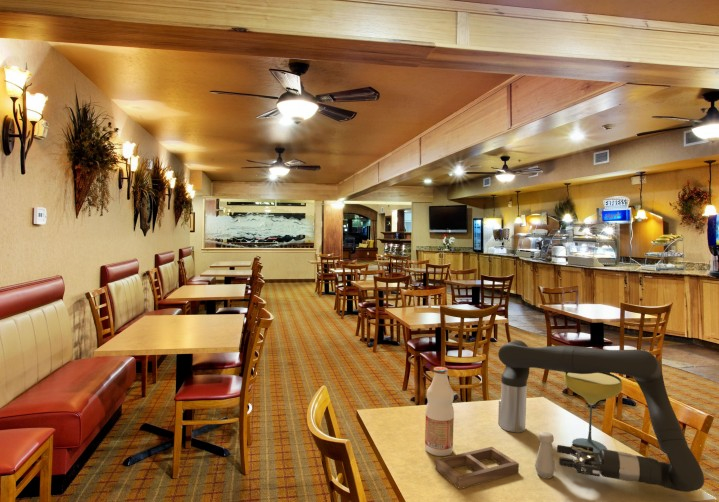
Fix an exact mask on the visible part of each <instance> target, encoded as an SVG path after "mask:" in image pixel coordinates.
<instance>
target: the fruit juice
mask: <svg viewBox="0 0 719 502" xmlns="http://www.w3.org/2000/svg"><path fill="white" fill-rule="evenodd" d="M448 375H449V368H447V367H443V366H435V367H433V378H432V380H431V384H430V385H429V386H428V388H427V390H426V398H427V403H426V407H425V427H424V428H425V430H424V449H425V451H426V452H427V453H429V454H430V455H433V456H436V457H448V456H449V455H452V453H453V449H454V421H455V420H454V419H455V418H454V417H455V414H454V413H455V410H454V406H453V401H454V397H455V393H454V390H453V389H452V386H451V385H450V384H451V383H450V380H449V377H448Z"/></svg>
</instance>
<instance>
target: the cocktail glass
mask: <svg viewBox="0 0 719 502" xmlns="http://www.w3.org/2000/svg"><path fill="white" fill-rule="evenodd" d="M563 373H564V374H563V383H564V384H565V386H566V387H567V388H569V390H570V391H572V392H573V393H575V394H577V395H578V396H580V397H582V398H583V399H584V400H585V401H586V403H587V404H588V405H589V420H588V423H589V424H588V435H587V438H586V437H585V438H583V437H582V438H580V437H579V438H574V439H573V440H572V442H571V443H572V444H578V445H583V446H588V447H593V452H594V453H597V454H598V453H599V452H600V450H601V449H606V450H608V448H607V446H606V445H605V444H603V443H601V442H599V441H596V440H594V439H592V420H593V419H592V415H593V405H594V406H595V405H596V403H597V404H598V402H599V401H603V400H607V399H612V398H614V397H617V396H618V395H619V394H621V392H622V390H623V381H622V379H621V378H620V377H619V376H617V375H614V373H610V372H601V373H592V374H576V373H567V372H563ZM577 448H578V447H577Z"/></svg>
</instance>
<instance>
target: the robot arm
mask: <svg viewBox="0 0 719 502" xmlns="http://www.w3.org/2000/svg"><path fill="white" fill-rule="evenodd" d="M497 353H498V354H497V356H498V359H499V361H500V362H501V363H502V364H503V365H504V366H505V368H504V371H503V372H502V374H501V380H500V381H501V382H500V383H501V384H500V399H499V400H498V413H497V414H498V415H497V416H498V419H497V424H498V425H499V426H500V428H501V429H503V430H505V431H507V432H510V433H523V432H525V431H526V419H527V418H526V416H527V395H528V394H527V392H528V391H527V389H528V379H529V376H530V368H531V369H532V368H533V369H541V370H547V371H553V372H554V371H555V372H560V373H561V372H563V373H565V372H567V373H576V374H592V373H601V372H606V373H610V374H618V375H624V376H629V377H632V378H633V379H634V380H635V381H636V383H637V385H638V387H639V388H640V391H641V392H642V394H643V397H644V399H645V402H646V406H647V410H648V414H649V418H650V422H651V426H652V429H653V433H654V435H655V437H656V440H657V444H658V445H659V449H660V450H661V451H662V453H664V454H665V455H666V456H667V459H668V461H669V463H668V462H663V461H662V462H661V461H659V460H657V459H656V458H652V457H647V456H642V455H636V454H632V453H629V452H623V451H618V450H617V451H616V450H612V449H607V450H606V449H601V450H600V452H599V453H598V454H597V453H594V452H593V447H588V446H583V445H578V444H573V443H572V444H571V445H570V446H569V445H568V446H567V445H563V444H562V445H561V444H557V446H556V452H557V453H559V454H563V455H564V454H565V455H571V456H572V457H575V458H576V459H571V458H566V457H562V456H560V457H559V458H558V465H559V466H560V467H564V468H565V467H566V468H572V469H573V470H575V471H576V473H577V474H581V475H585V476H586V475H587V476H592V477H600V476H602V477H604V478H610V479H614V480H615V479H616V480H622V481H625V482H636V483H641V484H648V485H655V486H659V487H663V488H666V489H670V490H673V491H677V492H678V491H679V492H684V493H691V492H694V491H698V490H700V489H701V488H703V486H704V484H705V475H704V472H703V470H702V469H703V468H702V467H701V465H700V463H699V462H698V460H697V459H696V456H695V455H694V453H693V452H692V450H691V449H690V447H689V444H688V441H687V439H686V437H685V434H684V431H683V429H682V426H681V425H680V421H679V420H678V418H677V416H676V413H675V411H674V408H673V406H672V404H671V402H670V398H669V395H668V393H667V389H666V384H665V380H664V375H663V370H662V369H663V368H662V364H661V363H660V361H659V360H658V359H657V357H656V356H655V355H654V354H653V353H651V352H650V351H647V350H644V349H601V348H596V347H587V346H585V347H584V346H577V345H576V346H575V345H552V346H551V345H550V346H549V345H548V346H542V347H535V346H534V347H532V346H528V345H527V344H526V343H525V342H524V341H522V340H520V339H519V340H511V341H510V342H506V343H504V344H503V345H502V346H501V347H500V348H499V349H498V352H497ZM577 447H578V448H577Z"/></svg>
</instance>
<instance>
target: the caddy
mask: <svg viewBox="0 0 719 502" xmlns="http://www.w3.org/2000/svg"><path fill="white" fill-rule="evenodd" d="M490 459H492V460H493V461H494V462H496V463H498V464H499V465H495V466H492V467H488V466H487V465H486V464H483V462H482V461H486V460H490ZM519 465H520V463H519V462H517V461H516V460H514V459H512V458H510V457H509V456H507V455H506V454H504V453H503V452H501V451H499V450H498V449H496V448H495V447H494V446H489V447H484V448H480V449H475V450H471V451H467V452H462V453H458V454H454V455H451V456H449V455H448V456H444V457H441V458H437V459H435V470H436V471H437V472H438V471H439V474H441V475H442V476H443V477H444V476H445V477H444V478H445V479H447V480H448V481H449V480H450V481H451V482H450V481H449V482H450V483H451V484H453V483H454V484H455V485H456V486H457V487H456V486H455V485H454V484H453V485H454V486H455V487H456V488H458V487H459V488H462V489H464V488H463V487H466V488H468V487H467V486H469V487H472V486H471V485H473V486H477V485H480V484H485V483H487V482H491V481H495V480H499V479H502V478H505V477H511V476H513V475H517V474H519V470H520V469H519V467H520V466H519ZM463 466H466V467H468V468H470V469H471V470H473V472H468V473H464V474H460V473H459V472H457V471H456V470H455V469H454V468H457V467H463ZM479 483H480V484H479ZM476 484H477V485H476ZM459 488H458V489H459Z"/></svg>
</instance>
